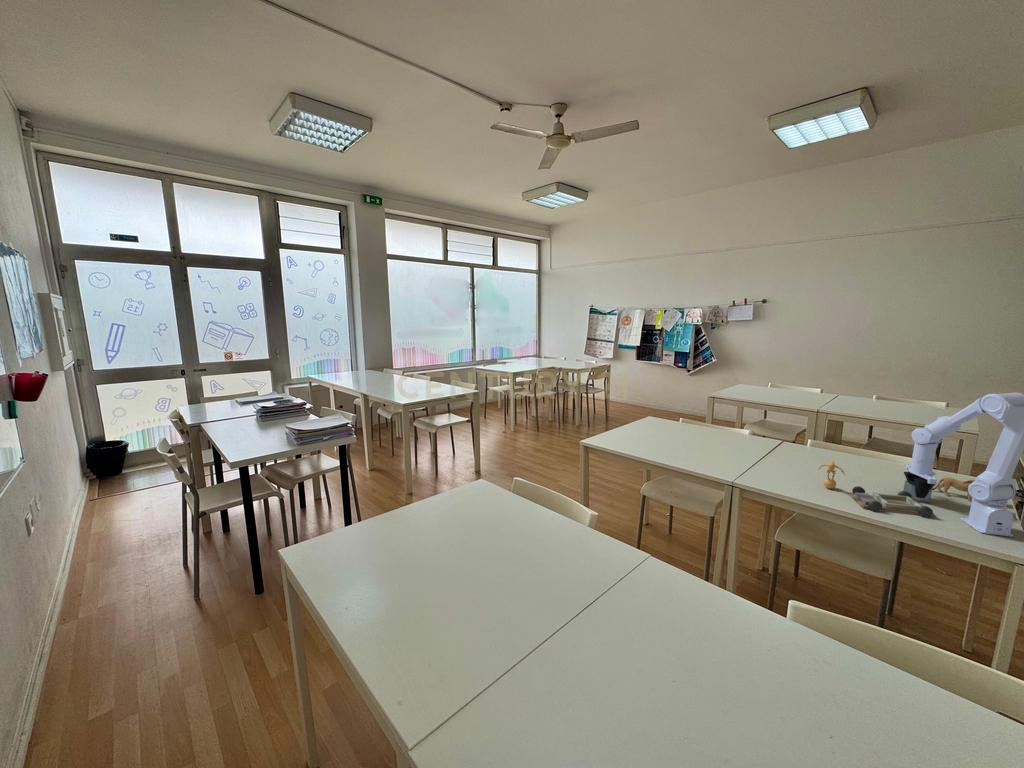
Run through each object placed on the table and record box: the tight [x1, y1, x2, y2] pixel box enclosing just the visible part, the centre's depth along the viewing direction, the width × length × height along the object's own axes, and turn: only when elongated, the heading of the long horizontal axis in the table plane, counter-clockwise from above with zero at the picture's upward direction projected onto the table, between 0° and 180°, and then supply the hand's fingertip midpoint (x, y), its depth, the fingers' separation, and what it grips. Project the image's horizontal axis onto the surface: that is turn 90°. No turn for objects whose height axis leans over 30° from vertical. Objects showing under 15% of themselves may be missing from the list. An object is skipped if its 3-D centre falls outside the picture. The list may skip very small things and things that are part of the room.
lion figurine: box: [932, 476, 976, 503], centre depth 154 cm, size 15×5×9 cm, turn 44°
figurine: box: [818, 460, 845, 489], centre depth 162 cm, size 8×6×12 cm
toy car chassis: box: [848, 485, 936, 518], centre depth 149 cm, size 13×20×4 cm
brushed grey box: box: [902, 480, 934, 504], centre depth 154 cm, size 4×6×6 cm
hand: (916, 494), depth 154 cm, fingers closed on brushed grey box, 4 cm apart
